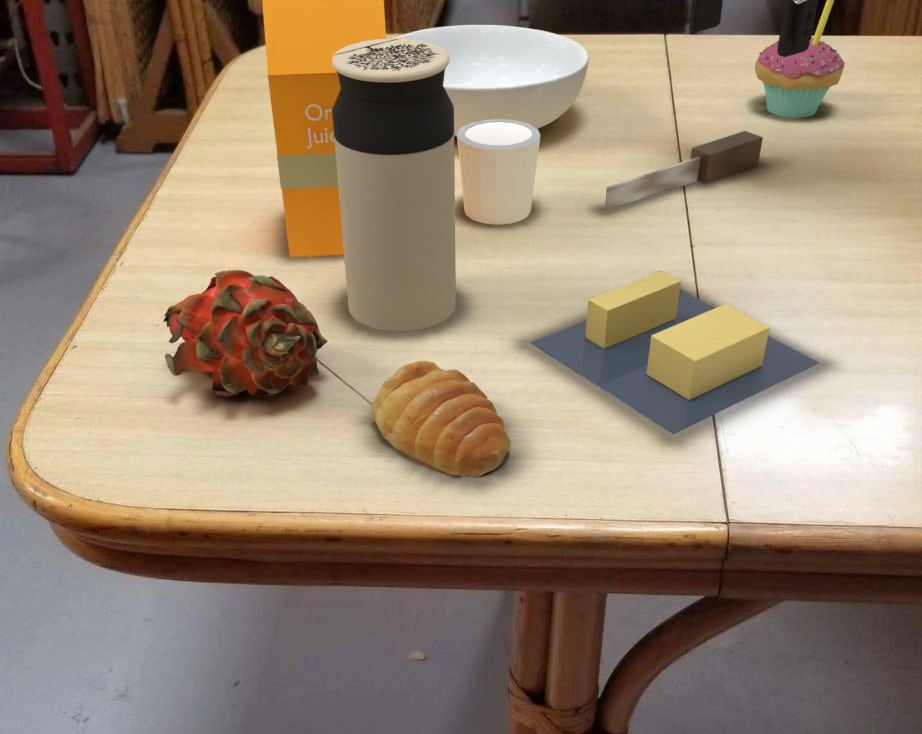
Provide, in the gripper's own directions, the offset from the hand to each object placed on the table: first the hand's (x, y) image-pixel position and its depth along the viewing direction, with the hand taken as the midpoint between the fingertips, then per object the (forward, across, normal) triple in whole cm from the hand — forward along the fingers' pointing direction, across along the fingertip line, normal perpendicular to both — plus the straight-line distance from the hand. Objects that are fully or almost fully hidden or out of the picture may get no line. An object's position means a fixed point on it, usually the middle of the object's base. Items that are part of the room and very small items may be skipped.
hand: (747, 40), depth 90 cm
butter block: (+12, -22, +26) cm, 36 cm away
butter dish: (+12, -19, +26) cm, 35 cm away
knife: (+12, +1, +5) cm, 13 cm away
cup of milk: (+12, +7, +21) cm, 25 cm away
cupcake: (+12, +8, -18) cm, 23 cm away
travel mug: (+12, -2, +37) cm, 39 cm away
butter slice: (+11, -15, +26) cm, 32 cm away
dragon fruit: (+12, -4, +51) cm, 53 cm away
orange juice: (+11, +11, +34) cm, 38 cm away
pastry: (+12, -17, +44) cm, 49 cm away
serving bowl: (+11, +25, +9) cm, 29 cm away
